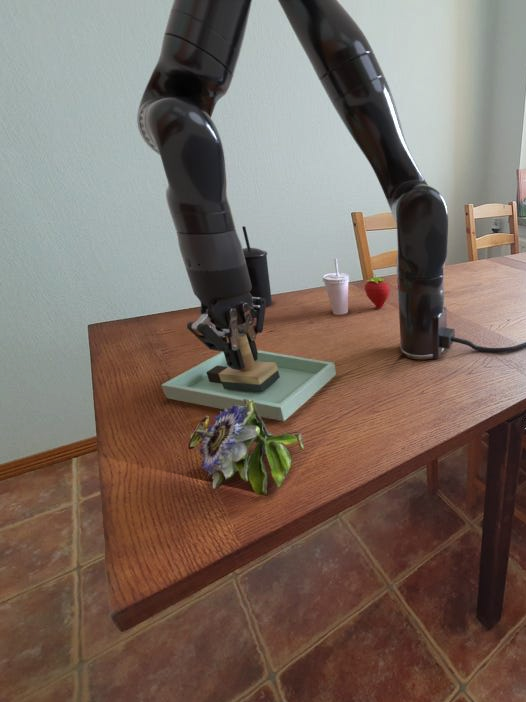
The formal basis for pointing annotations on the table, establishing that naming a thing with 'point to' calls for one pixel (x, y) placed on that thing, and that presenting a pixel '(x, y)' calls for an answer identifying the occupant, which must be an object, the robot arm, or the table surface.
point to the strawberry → (377, 291)
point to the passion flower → (243, 447)
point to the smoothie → (337, 290)
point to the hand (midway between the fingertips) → (244, 363)
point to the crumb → (215, 374)
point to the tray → (274, 402)
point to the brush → (249, 371)
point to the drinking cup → (257, 271)
